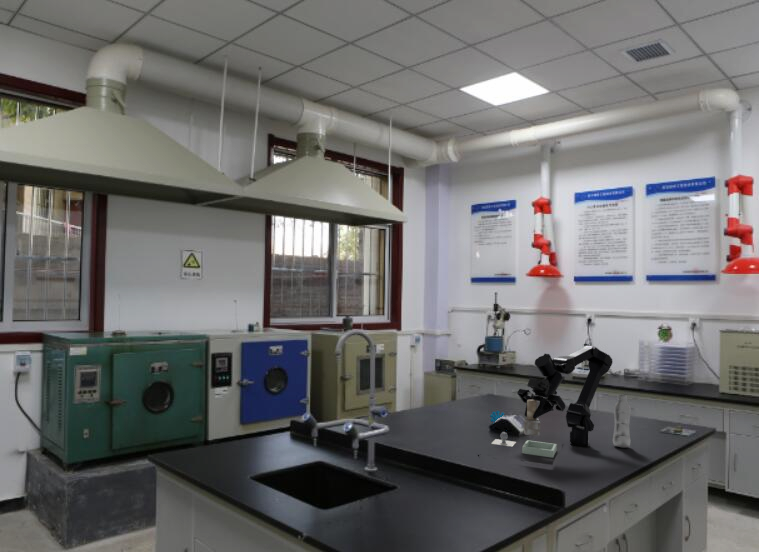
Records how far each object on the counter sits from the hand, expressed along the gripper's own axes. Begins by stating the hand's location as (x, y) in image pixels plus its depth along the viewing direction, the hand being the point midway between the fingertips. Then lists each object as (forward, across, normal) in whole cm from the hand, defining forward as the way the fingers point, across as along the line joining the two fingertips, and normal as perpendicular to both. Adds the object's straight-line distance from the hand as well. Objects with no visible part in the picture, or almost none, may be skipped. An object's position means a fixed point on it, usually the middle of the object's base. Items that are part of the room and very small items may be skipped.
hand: (529, 417), depth 205 cm
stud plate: (+10, -12, +9) cm, 18 cm away
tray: (+8, +4, +11) cm, 14 cm away
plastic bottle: (-20, +10, +40) cm, 46 cm away
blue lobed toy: (-4, -32, +24) cm, 41 cm away
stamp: (+3, 0, +5) cm, 6 cm away
